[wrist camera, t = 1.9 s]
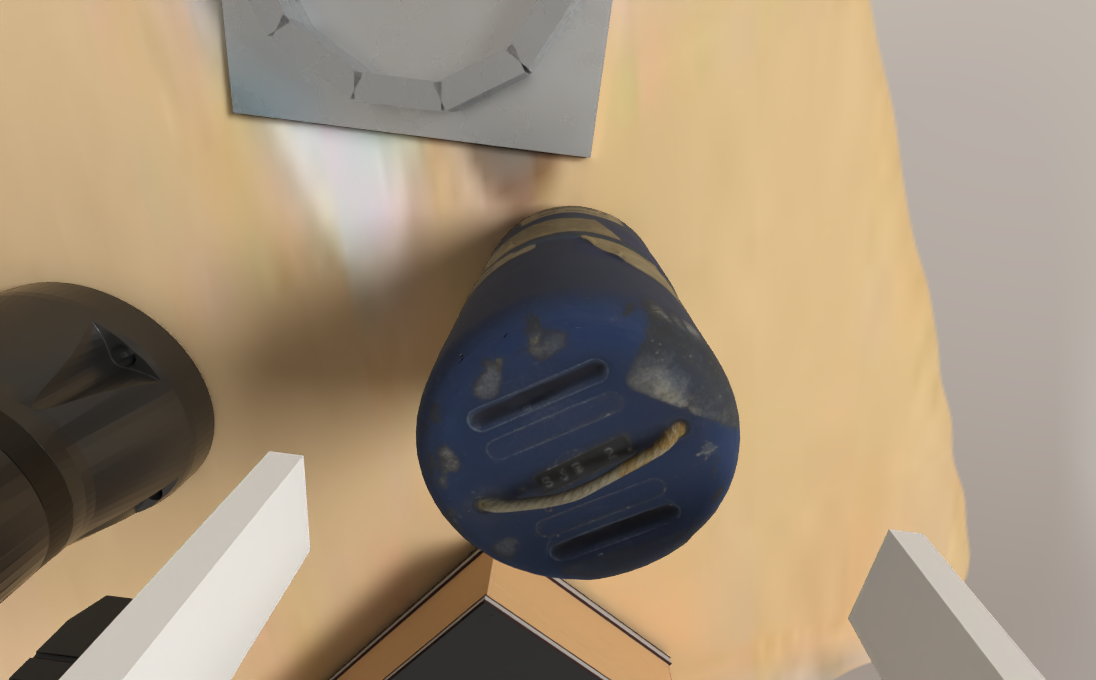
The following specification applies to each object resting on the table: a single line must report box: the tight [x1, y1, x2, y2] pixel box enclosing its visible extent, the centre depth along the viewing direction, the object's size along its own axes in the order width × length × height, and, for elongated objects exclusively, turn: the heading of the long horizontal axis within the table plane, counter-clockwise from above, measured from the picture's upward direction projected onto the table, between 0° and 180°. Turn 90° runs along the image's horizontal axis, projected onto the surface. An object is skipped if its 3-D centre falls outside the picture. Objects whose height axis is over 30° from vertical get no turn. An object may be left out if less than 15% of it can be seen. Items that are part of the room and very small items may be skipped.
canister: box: [416, 206, 740, 580], centre depth 22 cm, size 10×10×18 cm
